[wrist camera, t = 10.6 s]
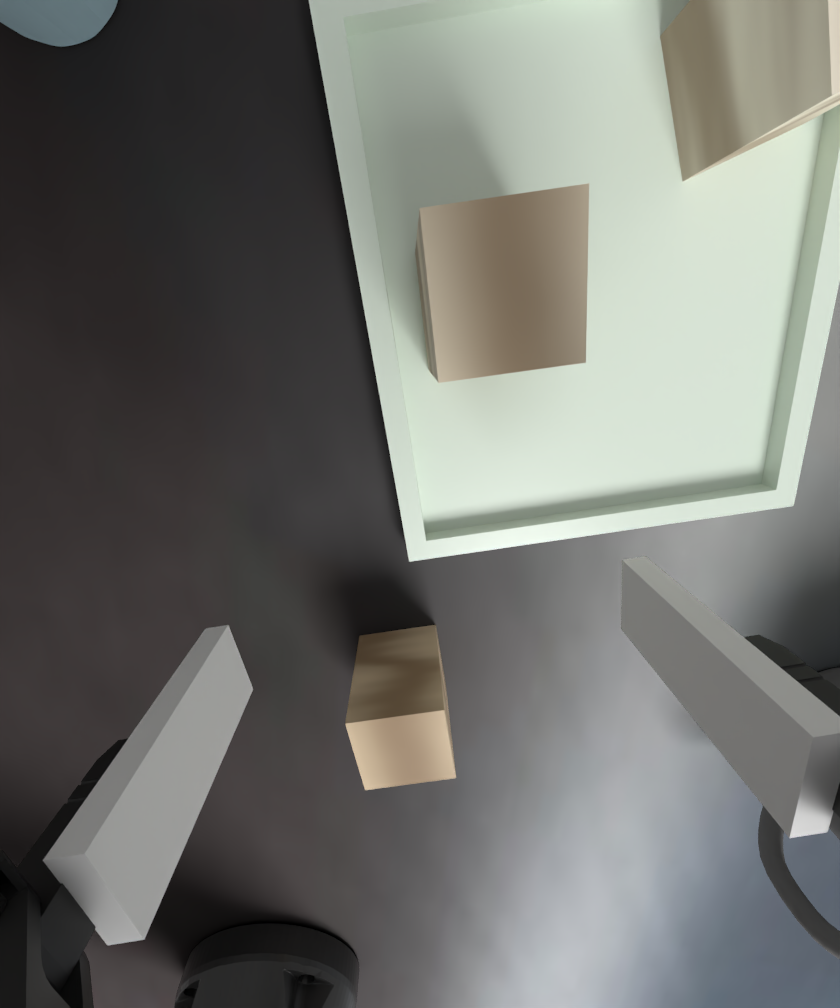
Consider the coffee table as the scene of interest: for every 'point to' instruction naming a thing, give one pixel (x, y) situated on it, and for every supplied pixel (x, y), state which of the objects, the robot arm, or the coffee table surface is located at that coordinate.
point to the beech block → (504, 282)
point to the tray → (611, 271)
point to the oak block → (400, 709)
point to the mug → (781, 877)
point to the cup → (57, 19)
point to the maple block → (748, 73)
